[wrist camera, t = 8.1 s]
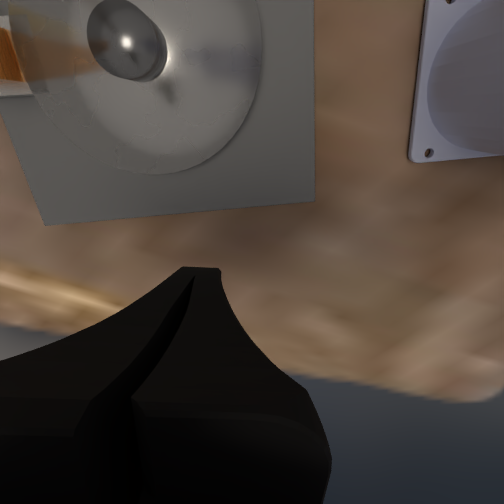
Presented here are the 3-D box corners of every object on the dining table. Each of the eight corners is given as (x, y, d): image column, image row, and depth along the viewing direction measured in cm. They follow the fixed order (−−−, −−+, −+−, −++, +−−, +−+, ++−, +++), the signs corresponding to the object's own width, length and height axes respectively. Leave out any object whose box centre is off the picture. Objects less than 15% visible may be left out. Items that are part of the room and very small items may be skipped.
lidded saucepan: (255, -118, 12) (258, -270, 7) (265, 165, 17) (270, 188, 12) (-90, -94, 13) (-308, -226, 8) (12, 179, 17) (-84, 206, 12)
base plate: (306, -200, 12) (322, -289, 10) (311, 196, 19) (321, 210, 16) (-81, -147, 13) (-170, -217, 10) (56, 219, 19) (24, 237, 17)
